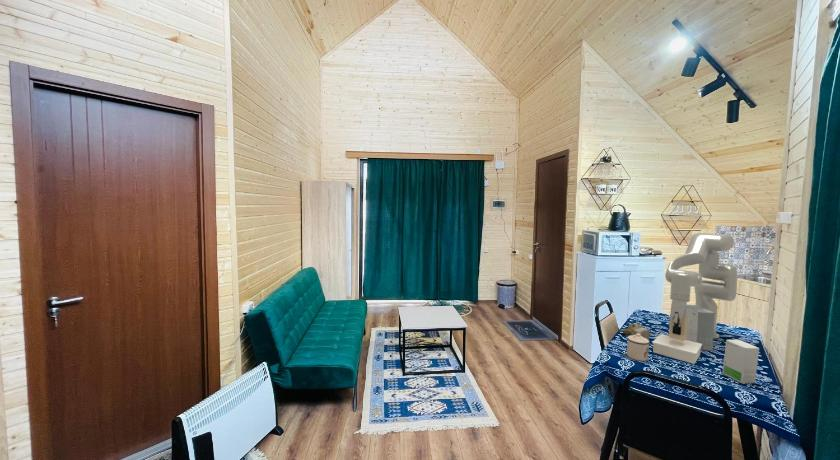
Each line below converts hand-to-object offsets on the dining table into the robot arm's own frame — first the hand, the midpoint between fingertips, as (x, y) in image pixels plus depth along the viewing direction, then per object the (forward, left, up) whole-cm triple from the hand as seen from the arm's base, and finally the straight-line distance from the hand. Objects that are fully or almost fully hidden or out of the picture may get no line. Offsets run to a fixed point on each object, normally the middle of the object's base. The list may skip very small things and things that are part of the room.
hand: (677, 332), depth 159 cm
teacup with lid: (+19, -12, -11) cm, 25 cm away
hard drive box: (-21, +4, -11) cm, 24 cm away
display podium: (0, 0, -11) cm, 11 cm away
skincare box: (+10, +23, -11) cm, 27 cm away
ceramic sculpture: (-9, -20, -11) cm, 25 cm away
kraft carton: (0, 0, -3) cm, 3 cm away
